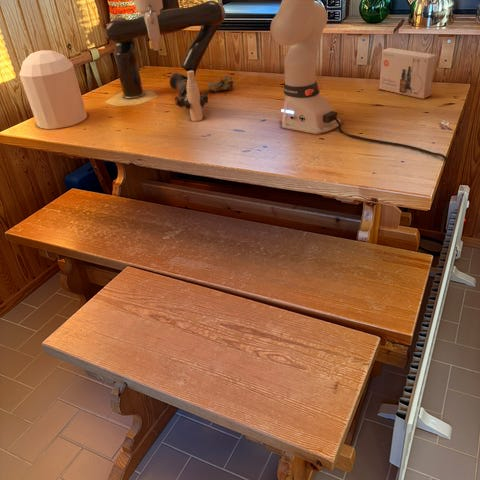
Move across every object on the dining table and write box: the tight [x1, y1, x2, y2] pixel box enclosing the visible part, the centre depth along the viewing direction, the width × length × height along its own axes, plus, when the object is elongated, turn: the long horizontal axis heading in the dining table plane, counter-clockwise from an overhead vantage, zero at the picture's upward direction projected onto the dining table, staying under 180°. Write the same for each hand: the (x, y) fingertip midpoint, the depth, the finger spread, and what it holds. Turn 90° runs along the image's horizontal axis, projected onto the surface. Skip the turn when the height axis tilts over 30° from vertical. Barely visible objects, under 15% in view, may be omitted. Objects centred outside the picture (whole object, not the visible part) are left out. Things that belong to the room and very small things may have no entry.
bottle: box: [186, 71, 204, 122], centre depth 179 cm, size 5×5×18 cm
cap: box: [148, 39, 162, 50], centre depth 157 cm, size 4×4×2 cm
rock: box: [207, 74, 234, 93], centre depth 212 cm, size 11×6×10 cm
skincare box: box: [378, 47, 437, 100], centre depth 184 cm, size 21×6×16 cm, turn 40°
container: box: [19, 49, 88, 130], centre depth 189 cm, size 21×21×28 cm
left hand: (196, 105), depth 178 cm, fingers closed on bottle, 5 cm apart
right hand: (155, 48), depth 158 cm, fingers closed on cap, 4 cm apart
